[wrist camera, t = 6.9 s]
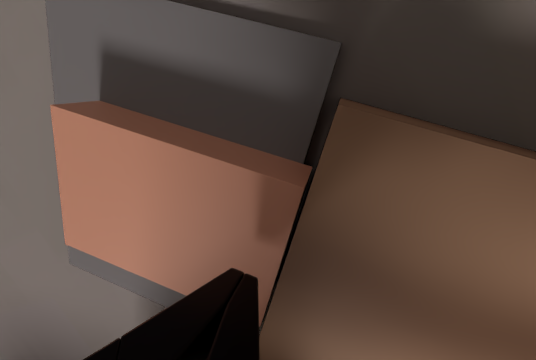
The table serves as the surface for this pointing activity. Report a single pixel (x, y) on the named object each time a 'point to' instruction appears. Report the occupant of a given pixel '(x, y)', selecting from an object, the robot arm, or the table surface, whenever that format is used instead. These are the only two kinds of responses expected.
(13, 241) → the table surface
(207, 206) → the block
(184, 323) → the robot arm
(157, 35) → the mat
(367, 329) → the plate
